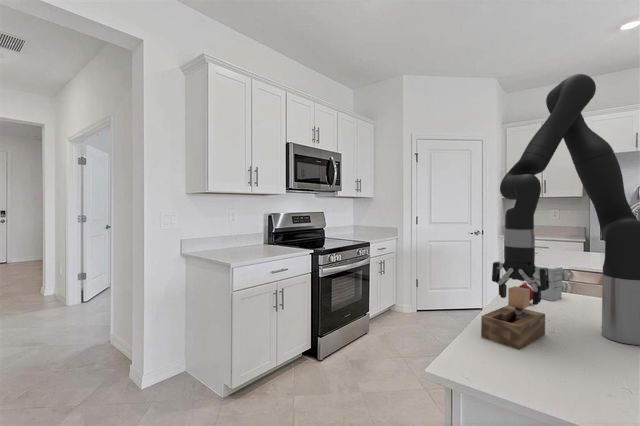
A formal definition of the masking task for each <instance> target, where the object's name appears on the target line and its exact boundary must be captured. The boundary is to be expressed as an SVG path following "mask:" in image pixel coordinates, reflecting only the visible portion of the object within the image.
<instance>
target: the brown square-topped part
mask: <svg viewBox="0 0 640 426" xmlns="http://www.w3.org/2000/svg"><path fill="white" fill-rule="evenodd" d="M507 292H508V294H507V295H508V296H507V299H508V301H507V302H508V303H507V305H508V306H512V307H515V321H516V317H518V316H520V315H522V314H523V309H527V308H529V307H530V306H531V305H530V304H531V303H530V302H531V301H530V289H527V288H521V287H519V286H511V287H508V290H507Z"/></svg>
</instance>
